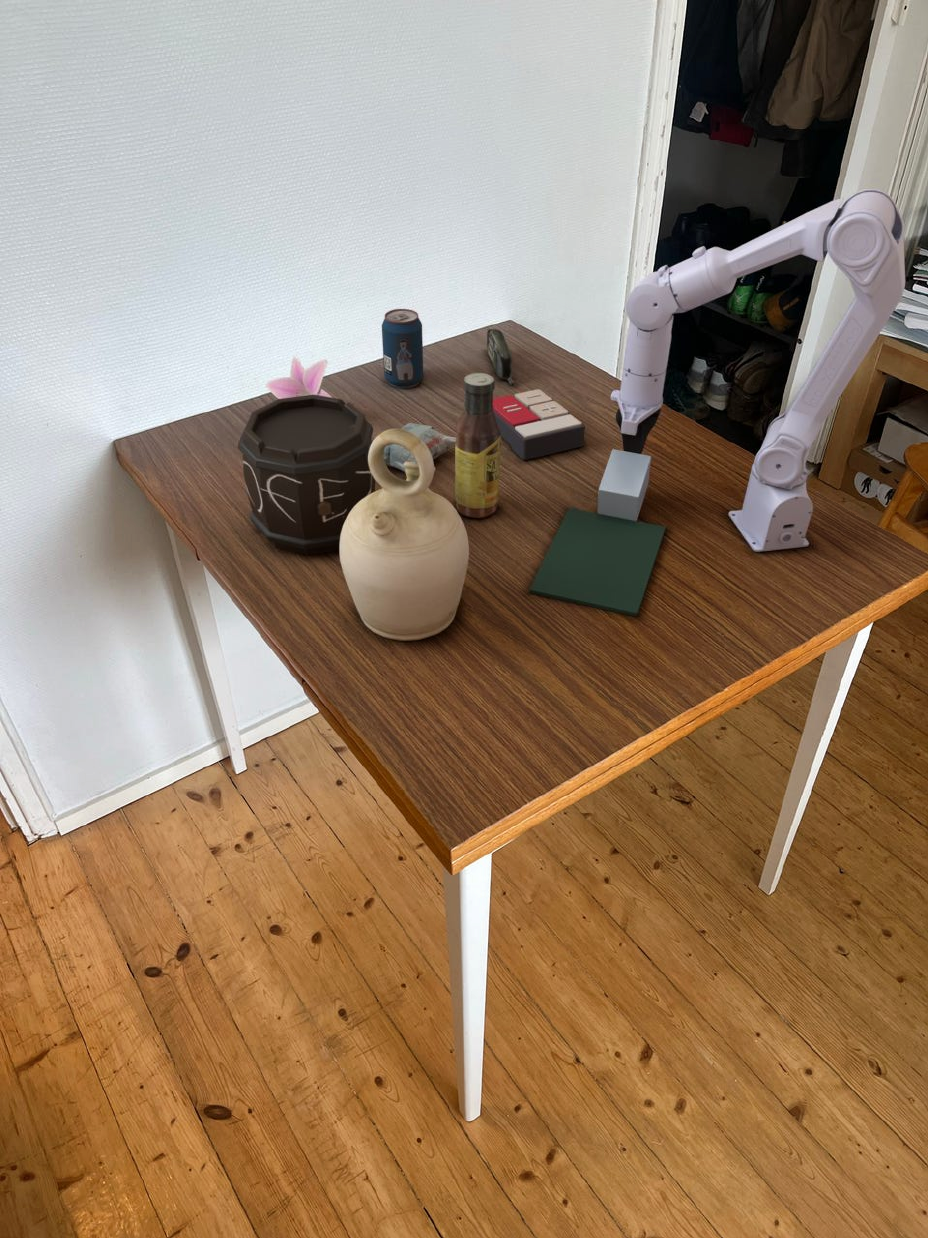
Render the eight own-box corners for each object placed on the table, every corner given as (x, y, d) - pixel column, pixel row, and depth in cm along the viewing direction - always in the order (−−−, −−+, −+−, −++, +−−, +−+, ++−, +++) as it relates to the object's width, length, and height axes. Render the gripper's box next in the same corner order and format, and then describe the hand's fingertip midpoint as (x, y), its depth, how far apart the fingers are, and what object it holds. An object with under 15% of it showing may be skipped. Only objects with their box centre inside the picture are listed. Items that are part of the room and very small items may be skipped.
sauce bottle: (494, 522, 131) (498, 393, 118) (450, 517, 132) (450, 388, 119) (501, 498, 136) (506, 371, 123) (460, 493, 136) (460, 367, 124)
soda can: (407, 368, 168) (405, 303, 160) (431, 382, 164) (430, 316, 156) (376, 379, 165) (372, 313, 157) (399, 393, 161) (397, 326, 153)
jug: (402, 557, 124) (394, 385, 108) (493, 604, 117) (498, 427, 101) (319, 614, 115) (297, 435, 99) (412, 668, 108) (404, 485, 92)
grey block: (610, 475, 136) (612, 448, 132) (648, 482, 135) (651, 455, 130) (597, 516, 132) (598, 489, 127) (636, 523, 131) (638, 497, 126)
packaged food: (458, 454, 145) (458, 426, 142) (412, 487, 137) (411, 458, 134) (414, 438, 149) (412, 411, 146) (367, 470, 141) (364, 442, 138)
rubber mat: (568, 511, 133) (568, 507, 133) (665, 530, 129) (665, 526, 129) (528, 592, 119) (529, 589, 118) (636, 617, 115) (637, 613, 115)
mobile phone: (484, 327, 171) (501, 359, 159) (500, 325, 171) (518, 358, 160) (484, 352, 174) (500, 386, 162) (500, 351, 174) (517, 385, 163)
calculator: (540, 385, 155) (586, 421, 144) (539, 409, 158) (584, 446, 147) (481, 398, 151) (524, 435, 141) (481, 422, 154) (523, 460, 143)
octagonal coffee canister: (260, 571, 122) (242, 467, 112) (245, 499, 135) (228, 400, 125) (393, 549, 126) (387, 447, 116) (366, 481, 139) (359, 384, 129)
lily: (268, 411, 158) (247, 377, 149) (324, 372, 159) (307, 336, 150) (304, 457, 153) (285, 425, 144) (362, 416, 154) (346, 382, 145)
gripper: (626, 341, 130) (616, 428, 139) (603, 385, 119) (593, 476, 128) (676, 348, 128) (662, 436, 137) (657, 394, 118) (643, 485, 126)
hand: (632, 456), depth 132 cm, fingers closed
